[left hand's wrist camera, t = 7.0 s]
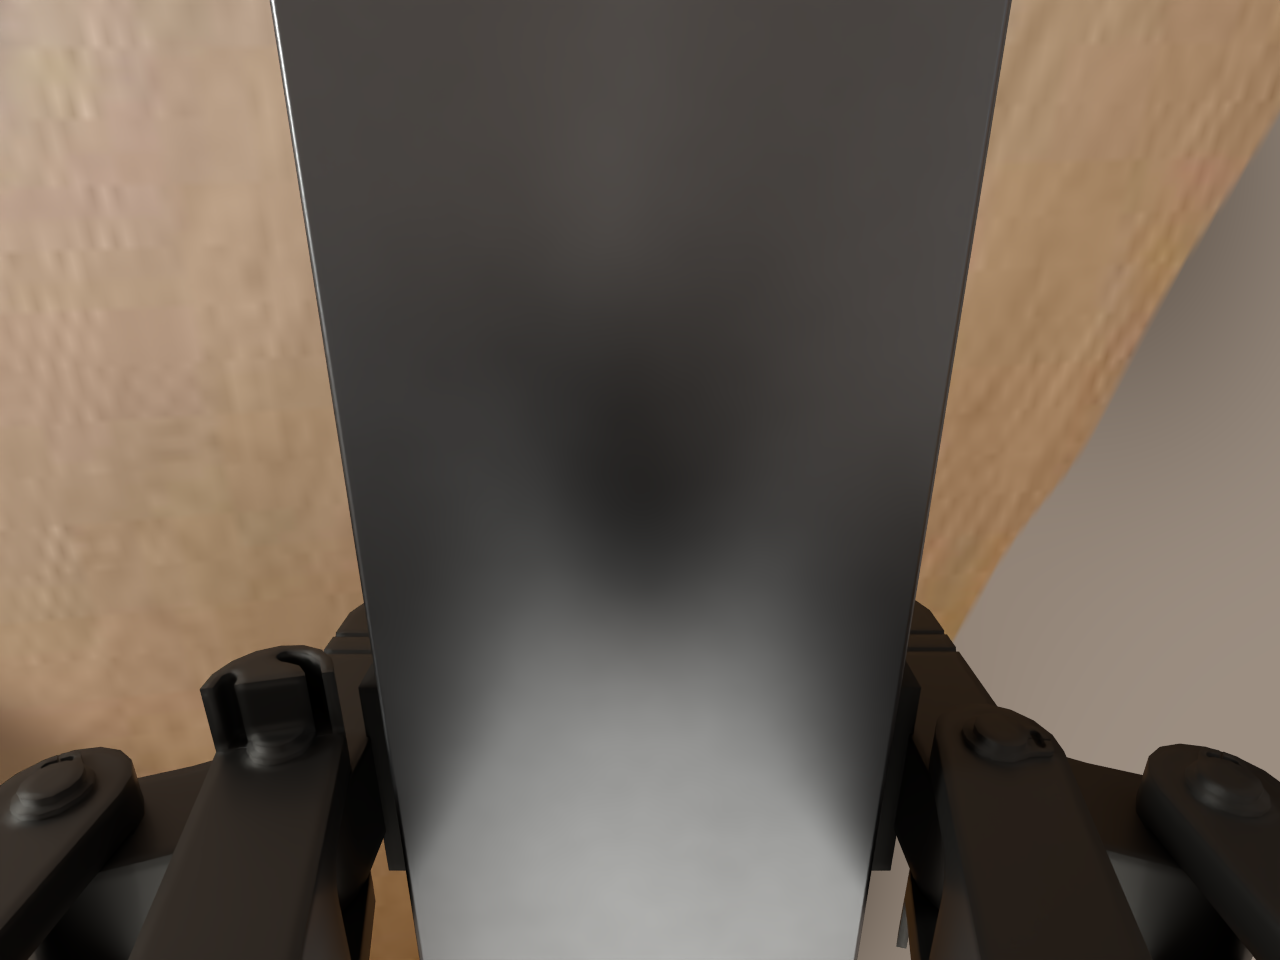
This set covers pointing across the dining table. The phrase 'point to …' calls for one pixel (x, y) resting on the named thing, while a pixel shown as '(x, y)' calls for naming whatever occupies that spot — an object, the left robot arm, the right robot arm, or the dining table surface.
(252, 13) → the dining table surface
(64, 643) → the dining table surface
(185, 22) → the dining table surface
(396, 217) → the bar
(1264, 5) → the dining table surface
